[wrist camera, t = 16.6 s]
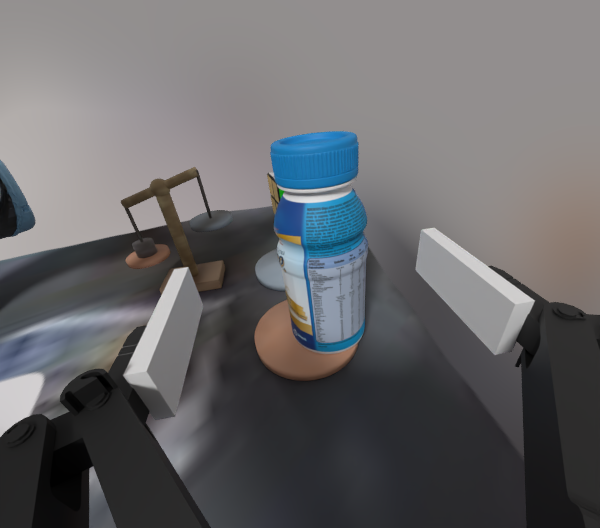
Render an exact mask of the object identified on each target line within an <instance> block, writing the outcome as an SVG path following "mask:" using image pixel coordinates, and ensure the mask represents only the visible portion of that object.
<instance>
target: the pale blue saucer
mask: <svg viewBox="0 0 600 528" xmlns="http://www.w3.org/2000/svg"><path fill="white" fill-rule="evenodd" d="M255 272H256V276H257V279H258V281H259V283H260V284H262V285H263V286H264V287H266V288H269V289H272V290H276V291H286V290H285V285H284V279H283V274H282V269H281V265H280V263H279V261H278V256H277V249H275V250H273V251H271V252H269V253H267V254H265V255H264V256H263V257H261V258H260V259H259V261H258V262H257V264H256V266H255Z"/></svg>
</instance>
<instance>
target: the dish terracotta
mask: <svg viewBox="0 0 600 528" xmlns="http://www.w3.org/2000/svg"><path fill="white" fill-rule="evenodd" d="M254 338H255V345H256V349H257V352H258V355H259V358H260V360H261V361H262V363H263V364H264V365H265V366H266V367H267V368H268V369H269V370H270V371H272V372H273V373H275V374H277V375H278V376H281V377H284V378H286V379H291V380H298V381H310V380H317V379H321V378H325V377H327V376H330V375H332V374H334V373H336V372H338V371H339V370H341V369H342V368H343V367H345V366H346V365H347V364H348V363H349V362H350V360H351V359H352V358H353V356H354V355H355V353H356V350H357V348H358V343H359V342H358V343H357V344H356V345H354V346H353V347H352V348H350V349H348V350H346V351H344V352H341V353H336V354H319V353H315V352H312V351H310V350H308V349H306V348H304V347H303V346H302V345H300V344H299V343H298V341H297V340H296V339H295V337H294V334H293V331H292V326H291V318H290V312H289V306H288V301H287V300H285V301H283V302H281V303H279V304H277V305H275V306H274V307H272V308H271V309H270V310H268V311H267V312H266V313H265V314H264V315H263V317H262V318H261V319H260V321H259V323H258V325H257V327H256V330H255V337H254Z"/></svg>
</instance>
